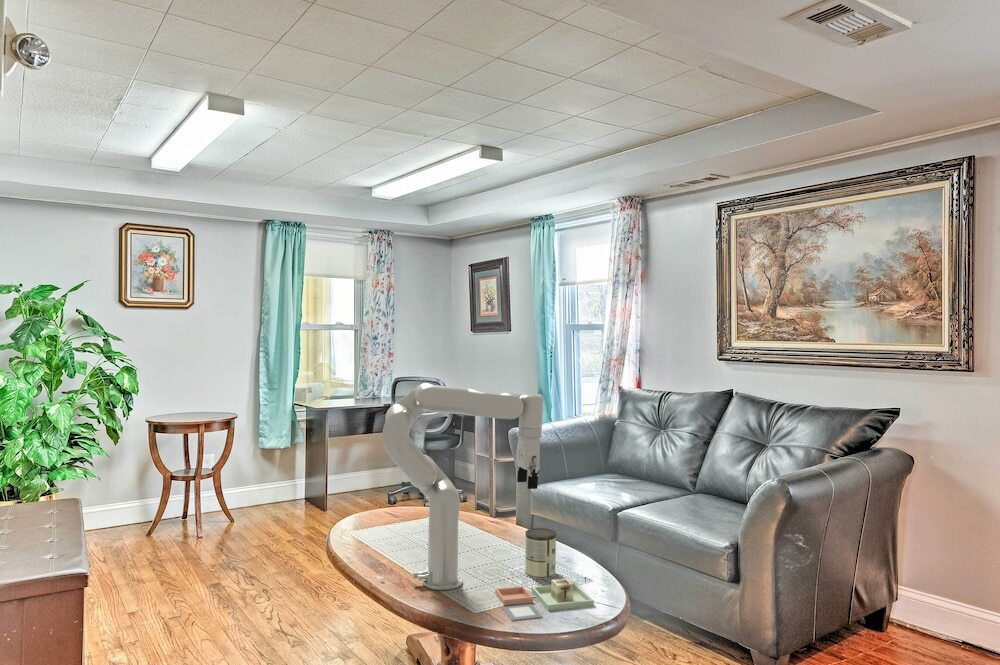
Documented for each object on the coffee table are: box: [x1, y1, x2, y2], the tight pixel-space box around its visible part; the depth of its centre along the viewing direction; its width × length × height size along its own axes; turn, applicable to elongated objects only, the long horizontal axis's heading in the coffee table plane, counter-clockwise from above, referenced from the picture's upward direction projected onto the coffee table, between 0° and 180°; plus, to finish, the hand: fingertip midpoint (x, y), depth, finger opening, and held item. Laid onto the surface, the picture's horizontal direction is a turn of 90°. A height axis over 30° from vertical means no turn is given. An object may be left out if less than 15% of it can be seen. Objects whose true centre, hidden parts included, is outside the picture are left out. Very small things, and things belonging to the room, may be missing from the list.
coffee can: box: [524, 527, 557, 580], centre depth 232 cm, size 10×10×14 cm
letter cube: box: [550, 578, 573, 602], centre depth 210 cm, size 5×5×5 cm
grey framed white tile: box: [502, 603, 543, 622], centre depth 199 cm, size 9×9×1 cm
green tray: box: [530, 582, 595, 611], centre depth 210 cm, size 14×14×2 cm
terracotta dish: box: [494, 585, 534, 606], centre depth 210 cm, size 9×9×2 cm
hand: (527, 485), depth 227 cm, fingers open, 9 cm apart
